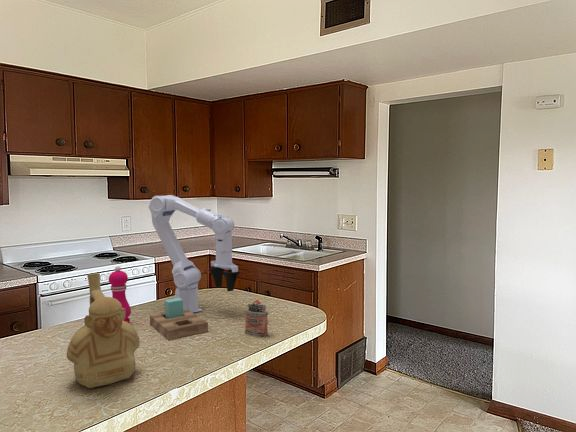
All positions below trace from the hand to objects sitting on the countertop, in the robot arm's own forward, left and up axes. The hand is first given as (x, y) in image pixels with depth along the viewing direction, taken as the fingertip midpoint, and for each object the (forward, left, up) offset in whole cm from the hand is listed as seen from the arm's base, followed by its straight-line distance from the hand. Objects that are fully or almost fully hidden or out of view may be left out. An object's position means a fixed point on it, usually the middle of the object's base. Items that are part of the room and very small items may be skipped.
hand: (224, 288), depth 161 cm
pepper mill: (-10, -34, -10) cm, 37 cm away
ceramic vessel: (+28, -47, -10) cm, 56 cm away
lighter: (+24, -1, -10) cm, 26 cm away
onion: (+14, +5, -10) cm, 18 cm away
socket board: (+4, -19, -9) cm, 22 cm away
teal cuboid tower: (0, -19, -9) cm, 21 cm away
